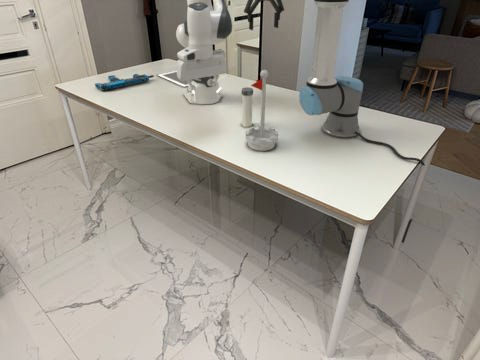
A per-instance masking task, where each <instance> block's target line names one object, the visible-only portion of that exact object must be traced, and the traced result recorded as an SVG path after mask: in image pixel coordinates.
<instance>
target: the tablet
mask: <svg viewBox="0 0 480 360" xmlns="http://www.w3.org/2000/svg"><path fill="white" fill-rule="evenodd" d="M156 76H157V77H159V78H162V79H165V80H167V81H169V82H171V83H174V84H176V85H178V86H180V87H181V88H182V87H183V88H188V85H189V84H188V83H187V80H186V81H181V80H180V79H179V78H178V77H177V70H174V71H170V72H164V73H160V74H157V75H156Z"/></svg>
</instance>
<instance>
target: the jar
mask: <svg viewBox="0 0 480 360" xmlns="http://www.w3.org/2000/svg"><path fill="white" fill-rule="evenodd" d="M241 98H242V99H241V101H242V102H241V106H242V107H241V126H242V127H244V128H251V127H253V95H250V96H245V95H242V94H241Z"/></svg>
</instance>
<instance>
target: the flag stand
mask: <svg viewBox="0 0 480 360" xmlns="http://www.w3.org/2000/svg"><path fill="white" fill-rule="evenodd" d="M259 75H260V79H259V80H257V81H256V82H253V84H251V85H250V86H251V87H252V88H256V89H258V90H260V91H261V95H260V97H261V98H260V99H261V100H260V125H258V128H255V127H254V126H250V127H248V130H246V131H245V140H246V141H247V145H248V147H249V148H250V149H252V150H254V151H259V152H260V151H261V152H263V151H264V152H265V151H270V150H272V149H274V148H275V147H276V143H277V142H278V140H279V131H278V130H276V128H274V127H272V126H270V127H268V128H266V127H265V121H266V119H265V118H266V95H267V94H266V93H267V92H266V91H267V78H268V77H269V71H268V70H266V69H262V70H261V71H260V74H259Z"/></svg>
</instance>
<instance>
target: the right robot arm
mask: <svg viewBox="0 0 480 360" xmlns="http://www.w3.org/2000/svg"><path fill="white" fill-rule="evenodd" d="M265 1H267V2H268V1H269V2H270V4H271V6H272V7H273V9H274V10H275V11H276V12H274V15H273V16H274V18H273V28H275V29H278V28H279V21H280V20H281V14H282V12H284V11H285V8H284V3H283V1H282V0H247V2H246V4H245V6H244V8H243V9H244V10H243V13H245V14H247V22H248V29H249V30H250V31H254V14H253V13H254V12H255V10H256V9H257V7H258V6H259V4H260V3H261V2H265ZM313 2H314V3H315V5H316V7H317V13H316V23H315V24H316V25H315V32H314V42H313V43H314V45H313V52H312V53H313V54H312V64H311V73H310V74H311V75H310V76H309V77H307V78H306V84H305V86H303V87H302V88H301V89H300V90H299V94H298V99H299V104H300V106H301V108H302V110H303V112H304V113H305V114H307V115H308V116H321V115H324V114H328V115H327V117H326V118H325V117H323V121H324V123H323V126H322V130H323V132H324V133H325V134H326V135H329V136H332V137H335V138H339V139H341V138H342V139H349V138H354V137H356V136H358V137H360V138H361V139H362V140H363V141H365V142H367V143H372V144H376V145H381V146H385V147H388V148H390V149H391V150H392V151H393V153H394V154H395V155H396V157H398V158H401V159H403V160H407V161H416V162H418V163H419V164H420V165H421V166H426V164H425V163H424V161H423V160H422V159H420V158H417V157H410V156H409V157H408V156H404V155H402V154H401V153H400V152H398V151H397V149H396V148H395V147H394V146H393V145H391V144H390V143H387V142H382V141H377V140H372V139H369V138H366V137H364V136H363V135H362V134H361V133H359V132H360V125H359V118H358V117H359V116H358V114H359V111H360V110H359V109H360V105H361V101H362V96H363V92H364V91H363V89H364V82H363V81H362V80H361V79H359V78H356V77H353V76H346V75H336V76H335V70H336V63H337V57H338V56H337V55H338V48H339V41H340V34H341V28H342V19H343V12H344V7H345V6H346V5H347V4H348V3H349V2H350V0H313ZM412 222H413V218H411V219H409V220H408V222H407V225H406V228H405V230H404V233H403V236H402V239H401V243H402V244H404V243H405V241H406V237H407V235H408V232H409V229H410V226H411V224H412Z"/></svg>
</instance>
